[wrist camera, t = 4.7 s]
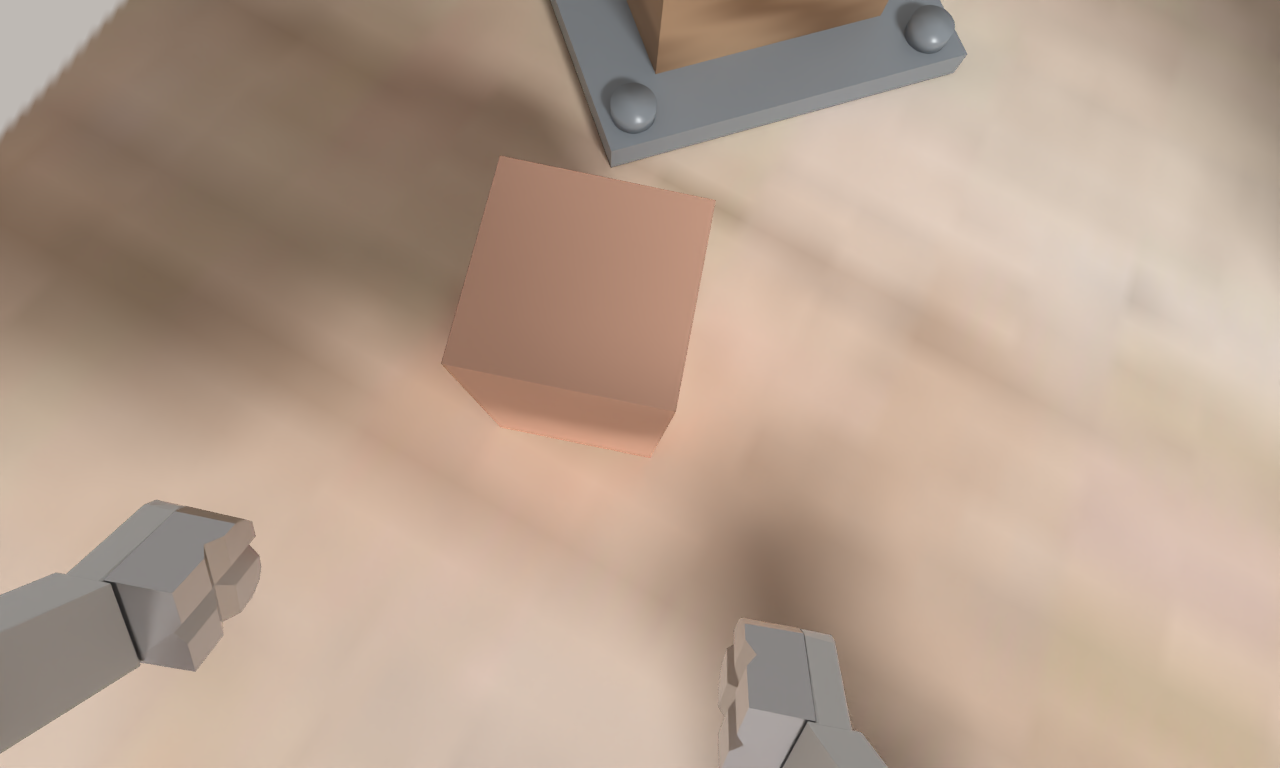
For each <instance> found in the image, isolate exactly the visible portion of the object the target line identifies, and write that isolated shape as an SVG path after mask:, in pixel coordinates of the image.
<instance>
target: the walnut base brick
mask: <svg viewBox="0 0 1280 768" xmlns="http://www.w3.org/2000/svg"><path fill="white" fill-rule="evenodd" d="M888 1H889V0H627V3H628V5H629V8H630V10H631V13H632V16H633V18H634V21H635V23H636V26H637V28H638V31H639V33H640V36H641V38H642V41H643V44H644V46H645V49H646V51H647V54H648V56H649V59H650V61H651V64H652V66H653V69H654V71H655V74H658V73H662V72H666V71H670V70H674V69H677V68H681V67H685V66H689V65H693V64H697V63H700V62H704V61H708V60H712V59H716V58H720V57H723V56H727V55H731V54H735V53H739V52H743V51H746V50H750V49H754V48H758V47H762V46H766V45H769V44H773V43H777V42H781V41H785V40H789V39H792V38H796V37H800V36H804V35H808V34H812V33H815V32H819V31H823V30H827V29H831V28H835V27H838V26H842V25H846V24H850V23H854V22H858V21H861V20H865V19H869V18H873V17H877V16H881V14H882V12H883V10H884V8H885V6H886V4H887V2H888Z"/></svg>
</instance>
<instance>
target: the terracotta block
mask: <svg viewBox="0 0 1280 768" xmlns="http://www.w3.org/2000/svg"><path fill="white" fill-rule="evenodd" d="M715 201H716V200H712V199H708V198H703V197H698V196H693V195H688V194H683V193H679V192H674V191H669V190H664V189H659V188H654V187H650V186H645V185H640V184H635V183H630V182H626V181H621V180H616V179H611V178H606V177H601V176H597V175H592V174H587V173H582V172H577V171H572V170H568V169H563V168H558V167H553V166H548V165H544V164H539V163H534V162H529V161H524V160H519V159H515V158H510V157H505V156H500V157H499V160H498V164H497V168H496V171H495V175H494V178H493V182H492V185H491V189H490V192H489V196H488V199H487V203H486V207H485V210H484V214H483V217H482V221H481V224H480V228H479V231H478V235H477V238H476V242H475V246H474V249H473V253H472V256H471V260H470V263H469V267H468V270H467V274H466V278H465V281H464V285H463V288H462V292H461V295H460V299H459V302H458V306H457V309H456V313H455V317H454V320H453V324H452V327H451V331H450V334H449V338H448V341H447V345H446V349H445V352H444V356H443V359H442V363H441V364H442V365H443V366H444V367H445V368H446V369H447V371H448V372H449V373H450V374H451V375H452V376H453V377H454V378H455V379H456V380H457V381H458V382H459V383H460V384H461V385H462V387H463V388H464V389H465V390H466V391H467V392H468V393H469V394H470V395H471V396H472V397H473V398H474V399H475V400H476V401H477V403H478V404H479V405H480V406H481V407H482V408H483V409H484V410H485V411H486V412H487V413H488V414H489V415H490V416H491V417H492V419H493V420H494V421H495V422H496V423H497V424H498V425H499V426H500V427H502V428H507V429H512V430H517V431H522V432H527V433H532V434H536V435H541V436H546V437H551V438H556V439H561V440H566V441H571V442H575V443H580V444H585V445H590V446H595V447H600V448H605V449H610V450H614V451H619V452H624V453H629V454H634V455H639V456H644V457H649V458H650V457H651V455H652V453H653V452H654V450H655V448H656V446H657V445H658V443H659V441H660V439H661V437H662V436H663V434H664V432H665V430H666V428H667V427H668V425H669V423H670V421H671V419H672V418H673V416H674V414H675V412H676V408H677V402H678V397H679V392H680V386H681V381H682V376H683V371H684V365H685V360H686V355H687V349H688V344H689V339H690V334H691V328H692V323H693V318H694V312H695V307H696V302H697V297H698V291H699V286H700V281H701V275H702V270H703V265H704V260H705V254H706V249H707V244H708V238H709V233H710V228H711V223H712V217H713V212H714V207H715Z"/></svg>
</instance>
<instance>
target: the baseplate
mask: <svg viewBox="0 0 1280 768" xmlns="http://www.w3.org/2000/svg"><path fill="white" fill-rule="evenodd" d="M550 1H551V4H552V7H553V9H554V12H555V15H556V18H557V20H558V23H559V26H560V29H561V31H562V34H563V37H564V40H565V42H566V45H567V48H568V50H569V53H570V56H571V59H572V61H573V64H574V67H575V70H576V72H577V75H578V78H579V81H580V83H581V86H582V89H583V92H584V94H585V97H586V100H587V103H588V105H589V108H590V111H591V114H592V116H593V119H594V122H595V124H596V127H597V130H598V133H599V135H600V138H601V141H602V144H603V146H604V149H605V152H606V155H607V157H608V160H609V163H610V166H611V167H614V166H618V165H621V164H625V163H629V162H632V161H636V160H639V159H643V158H647V157H650V156H654V155H657V154H661V153H665V152H668V151H672V150H676V149H679V148H683V147H686V146H690V145H694V144H697V143H701V142H704V141H708V140H712V139H715V138H719V137H723V136H726V135H730V134H733V133H737V132H741V131H744V130H748V129H751V128H755V127H759V126H762V125H766V124H770V123H773V122H777V121H780V120H784V119H788V118H791V117H795V116H798V115H802V114H806V113H809V112H813V111H817V110H820V109H824V108H827V107H831V106H835V105H838V104H842V103H845V102H849V101H853V100H856V99H860V98H864V97H867V96H871V95H874V94H878V93H882V92H885V91H889V90H892V89H896V88H900V87H903V86H907V85H911V84H914V83H918V82H921V81H925V80H929V79H932V78H936V77H939V76H943V75H947V74H950V73H954V71H955V70H956V69H957V67H958V66H959V65H960V63H961V62H962V61H963V59H964V58H965V57H966V55H967V52H966V51H965V49H964V47H963V45H962V43H961V41H960V39H959V37H958V35H957V33H956V31H955V24H954V20H953V18H952V16H951V15H950V14H949V13H948V12H947V11H946V10H945V9H944V8H943V6H942V4H941V2H940V0H889V1H888V2H887V4H886V6H885V8H884V10H883V12H882V14H881V16H877V17H873V18H869V19H865V20H861V21H858V22H854V23H850V24H846V25H842V26H838V27H835V28H831V29H827V30H823V31H819V32H815V33H812V34H808V35H804V36H800V37H796V38H792V39H789V40H785V41H781V42H777V43H773V44H769V45H766V46H762V47H758V48H754V49H750V50H746V51H743V52H739V53H735V54H731V55H727V56H723V57H720V58H716V59H712V60H708V61H704V62H700V63H697V64H693V65H689V66H685V67H681V68H677V69H674V70H670V71H666V72H662V73H658V74H655V71H654V69H653V66H652V64H651V61H650V59H649V56H648V54H647V51H646V49H645V46H644V44H643V41H642V38H641V36H640V33H639V31H638V28H637V26H636V23H635V21H634V18H633V16H632V13H631V10H630V8H629V5H628V3H627V0H550Z"/></svg>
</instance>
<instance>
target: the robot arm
mask: <svg viewBox="0 0 1280 768" xmlns="http://www.w3.org/2000/svg"><path fill="white" fill-rule="evenodd" d="M255 537H256V535H255V531H254V527H253V523H252V521H249V520H245V519H241V518H237V517H232V516H228V515H224V514H219V513H215V512H210V511H206V510H202V509H197V508H193V507H188V506H183V505H178V504H174V503H169V502H164V501H160V500H154V501H152V502H149V503H147V504H144V505H143V506H142V507H141V508H140V509H138V510H137V511H136V512H135V513H134V514H133V515H132V516H131V517H129V518H128V519H127V520H126V521H125V522H124V523H123V524H122V525H121V526H119V527H118V528H117V529H116V530H115V531H114V532H113V533H112V534H110V535H109V536H108V537H107V538H106V539H105V540H104V541H103V542H102V543H100V544H99V545H98V546H97V547H96V548H95V549H94V550H93V551H91V552H90V553H89V554H88V555H87V556H86V557H85V558H84V559H82V560H81V561H80V562H79V563H78V564H77V565H76V566H75V567H74V568H72V569H71V570H70V571H69V572H68V573H67V574H62V573H54V574H51V575H49V576H46V577H44V578H41V579H39V580H37V581H34V582H32V583H29V584H27V585H24V586H22V587H19V588H17V589H14V590H12V591H9V592H7V593H4V594H2V595H0V753H2V752H4V751H5V750H7V749H8V748H10V747H12V746H13V745H15V744H16V743H18V742H20V741H21V740H23V739H24V738H26V737H28V736H29V735H31V734H32V733H34V732H35V731H37V730H39V729H40V728H42V727H43V726H45V725H47V724H48V723H50V722H51V721H53V720H55V719H56V718H58V717H59V716H61V715H63V714H64V713H66V712H67V711H69V710H71V709H72V708H74V707H75V706H77V705H79V704H80V703H82V702H83V701H85V700H86V699H88V698H90V697H91V696H93V695H94V694H96V693H98V692H99V691H101V690H102V689H104V688H106V687H107V686H109V685H110V684H112V683H114V682H115V681H117V680H118V679H120V678H122V677H123V676H125V675H126V674H128V673H130V672H131V671H133V670H134V669H136V668H137V667H139V666H140V662H141V663H147V664H153V665H159V666H165V667H171V668H177V669H183V670H189V671H195V672H196V670H197V669H198V668H199V667H200V665H201V664H202V663H203V661H204V660H205V659H206V657H207V656H208V655H209V654H210V652H211V651H212V650H213V648H214V647H215V646H216V644H217V643H218V642H219V641H220V639H221V638H222V637H223V621H225V620H227V619H229V618H231V617H233V616H235V615H237V614H239V613H241V612H242V610H243V609H244V608H245V606H246V605H247V603H248V602H249V601H250V599H251V598H252V596H253V594H254V592H255V589H256V587H257V584H258V582H259V580H260V572H261V562H260V556H259V555H258V553H257V552H256V551H255V550H254V549H253V548H252V547H251V546H250V545H249V544H250V543H251V541H252V540H253V539H254V538H255ZM718 707H719V709H720V711H721V712H722V714H723V715H724V717H725V718H724V720H723V723H722V725H721V728H720V730H719V733H718V753H719V768H888V767H887V765H886V764H885V763H884V761H883V760H882V759H881V757H880V756H879V755H878V753H877V752H876V751H875V749H874V748H873V747H872V746H871V744H870V743H869V742H868V740H867V739H866V738H865V736H864V735H863V734H862V732H858V731H854V730H852V727H851V722H850V716H849V711H848V706H847V701H846V696H845V691H844V685H843V680H842V675H841V670H840V665H839V660H838V654H837V649H836V644H835V640H834V639H833V637H832V636H831V635H829V634H824V633H819V632H814V631H809V630H804V629H799V628H797V627H791V626H786V625H780V624H775V623H770V622H764V621H759V620H754V619H748V618H743V617H741V618H740V619H739V620H738V622H737V624H736V627H735V629H734V645H732V646H731V647H729V648H727V650H726V653H725V656H724V658H723V661H722V666H721V671H720V676H719V687H718Z"/></svg>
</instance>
